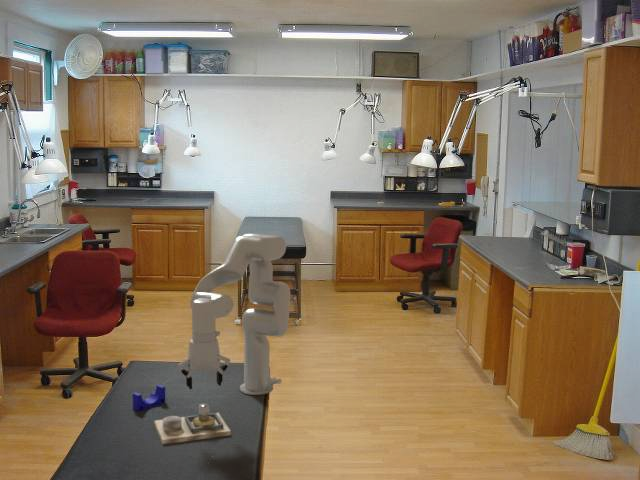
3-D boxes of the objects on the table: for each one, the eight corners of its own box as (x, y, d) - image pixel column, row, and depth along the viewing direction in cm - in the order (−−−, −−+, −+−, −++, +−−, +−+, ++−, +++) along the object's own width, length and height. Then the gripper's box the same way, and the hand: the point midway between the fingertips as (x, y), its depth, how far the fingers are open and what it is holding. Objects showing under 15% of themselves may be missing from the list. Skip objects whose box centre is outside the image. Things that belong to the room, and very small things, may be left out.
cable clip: (157, 399, 276) (157, 383, 275) (165, 402, 274) (165, 386, 273) (130, 408, 267) (130, 392, 266) (138, 412, 264) (138, 395, 263)
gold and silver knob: (212, 418, 256) (212, 400, 255) (216, 426, 249) (216, 408, 248) (191, 421, 253) (191, 402, 252) (195, 429, 247) (195, 410, 246)
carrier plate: (218, 416, 261) (218, 404, 261) (230, 435, 247) (230, 422, 246) (154, 424, 253) (154, 412, 253) (162, 444, 239) (162, 430, 238)
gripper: (226, 330, 253) (227, 379, 256) (175, 335, 247) (176, 385, 250) (232, 337, 246) (233, 386, 249) (179, 342, 240) (180, 393, 243)
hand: (204, 386), depth 250 cm, fingers open, 9 cm apart
